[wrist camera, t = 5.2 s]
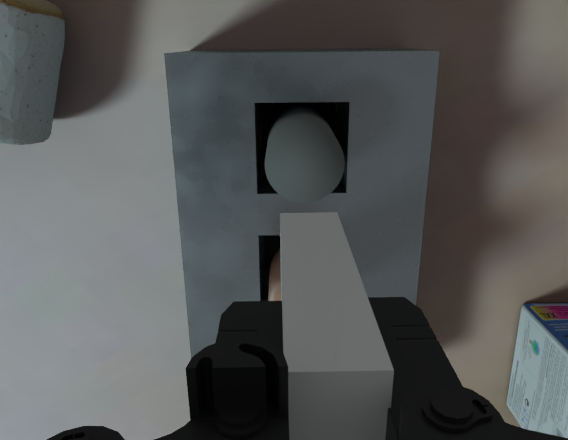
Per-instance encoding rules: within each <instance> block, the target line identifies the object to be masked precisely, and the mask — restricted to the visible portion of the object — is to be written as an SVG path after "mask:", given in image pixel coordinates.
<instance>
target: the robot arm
mask: <svg viewBox="0 0 568 440" xmlns="http://www.w3.org/2000/svg"><path fill="white" fill-rule="evenodd" d="M280 250H281V301H234V302H233V303H232V304H231V305H230V306H229V307H228V308H227V309H226V310H225V311H224V312H223V313H222V314H221V318H220V323H219V328H218V334H217V338H216V343H215V344H212V345H209V346H207V347H205V348H203V349H202V350H201V351H199V352H198V353H197V354H195V355H194V356H193V357H192V359H191V360H190V362H189V364H188V366H187V367H186V376H187V386H188V397H189V407H190V418H191V420H190V421H189V422H188V423H187V424H186V425H185V426H183V427H182V428H180V429H178V430H177V431H175V432H173V433H171V434H169V435H166V436H163V437H161V438H158V439H155V440H568V438H564V437H560V436H555V435H550V434H546V433H541V432H536V431H532V430H527V429H523V428H520V427H516V426H513V425H510V424H508V423H505V422H504V420H503V418H502V417H501V415H500V413H499V412H498V411H497V410H496V409H495V408H494V406H493V405H492V404H491V403H490V402H489V401H488V400H487V399H485V398H484V397H482V396H481V395H479V394H477V393H476V392H474V391H473V390H470V389H467V388H464V387H463V386H462V384H461V382H460V380H459V379H458V377H457V375H456V373H455V371H454V369H453V367H452V366H451V364H450V362H449V360H448V358H447V356H446V355H445V353H444V351H443V349H442V347H441V345H440V343H439V342H438V341H437V340H436V336H435V334H434V332H433V331H432V329H431V328H430V327H429V323H428V321H427V319H426V318H425V316H424V314H423V312H422V310H421V309H420V308H418V307H417V306H416V305H414V304H413V303H412V302H410V301H409V300H408V299H406V298H405V297H367V294H366V291H365V288H364V285H363V283H362V280H361V277H360V274H359V272H358V269H357V266H356V263H355V260H354V258H353V255H352V252H351V249H350V247H349V244H348V241H347V238H346V235H345V233H344V230H343V227H342V224H341V221H340V219H339V216H338V213H337V212H316V213H280ZM47 440H125V439H124V438H123V437H122V436H121V435H120V434H119V432H117V431H114V430H111V429H109V428H106V427H104V426H82V427H78V428H74V429H70V430H66V431H63V432H61V433H59V434H57V435H55V436H53V437H51V438H49V439H47Z"/></svg>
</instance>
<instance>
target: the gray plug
mask: <svg viewBox="0 0 568 440" xmlns="http://www.w3.org/2000/svg"><path fill="white" fill-rule="evenodd" d="M344 165H345V164H344V154H343V151H342V148H341V146H340V144H339V142H338V141H337V139H336V137H335V135H334V133H333V131H332V130H331V128H330V126H329V124H328V122H327V120H326V119H325V117H324V115H323V113H322V112H321V111H320V110H319V109H318V108H317V107H316V106H314V105H313V104H311V103H308V102H290V103H287V104H285V105H283V106H282V107H281V108H279V109H278V110H277V112H276V113H275V114H274V116H273V118H272V120H271V123H270V129H269V136H268V142H267V149H266V156H265V172H266V176H267V179H268V181H269V183H270V185H271V186H272V187H273V189H274V190H275V191H276V192H277V193H278V194H280V195H281V196H282V197H284V198H286V199H288V200H291V201H294V202H299V203H309V202H314V201H317V200H320V199H322V198H324V197H326V196H327V195H329V194H330V193H331V192H332V191H333V190H334V189H335V188H336V187H337V185H338V184H339V182H340V180H341V178H342V175H343V172H344Z"/></svg>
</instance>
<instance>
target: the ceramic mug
mask: <svg viewBox="0 0 568 440" xmlns="http://www.w3.org/2000/svg"><path fill="white" fill-rule="evenodd" d="M64 42H65V18H64V15H63V13H62V11H61V10H60V9H59V7H58V6H57V5H56V4H54V3H51V2H49V1H46V0H0V144H12V145H24V144H34V143H39V142H43V141H45V140H47V139H48V138H49V136H50V134H51V128H52V121H53V115H54V108H55V102H56V96H57V88H58V81H59V74H60V66H61V61H62V56H63V51H64Z"/></svg>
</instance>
